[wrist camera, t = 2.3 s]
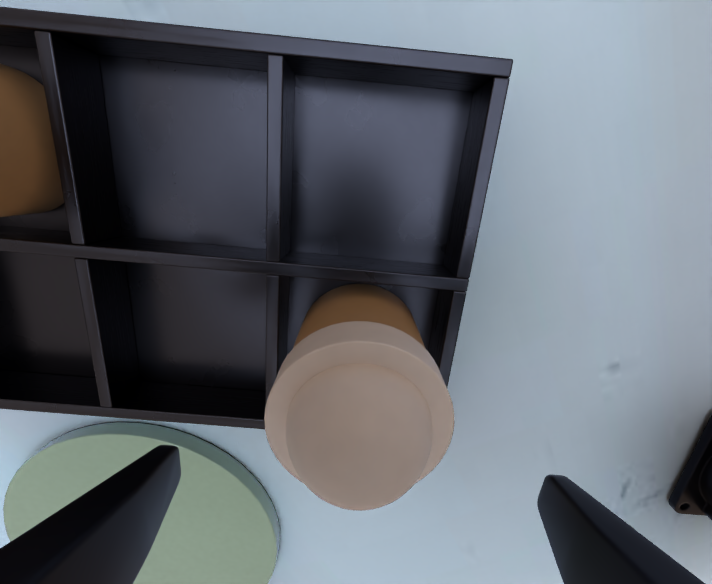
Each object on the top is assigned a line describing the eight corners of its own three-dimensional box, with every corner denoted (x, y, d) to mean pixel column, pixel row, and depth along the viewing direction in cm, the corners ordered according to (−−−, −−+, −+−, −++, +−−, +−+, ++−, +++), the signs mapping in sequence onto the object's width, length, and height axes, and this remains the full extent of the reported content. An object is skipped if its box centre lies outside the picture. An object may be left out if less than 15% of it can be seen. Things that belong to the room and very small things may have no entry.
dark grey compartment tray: (425, 406, 17) (436, 443, 15) (-5, 371, 17) (-66, 403, 14) (484, 81, 12) (514, 58, 10) (-104, 22, 12) (-217, -17, 10)
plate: (278, 618, 22) (275, 636, 21) (47, 603, 22) (34, 620, 21) (283, 433, 18) (279, 446, 17) (-12, 410, 17) (-31, 422, 16)
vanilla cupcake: (410, 394, 16) (455, 575, 9) (296, 385, 16) (242, 560, 9) (428, 285, 14) (502, 396, 7) (300, 274, 14) (238, 374, 7)
